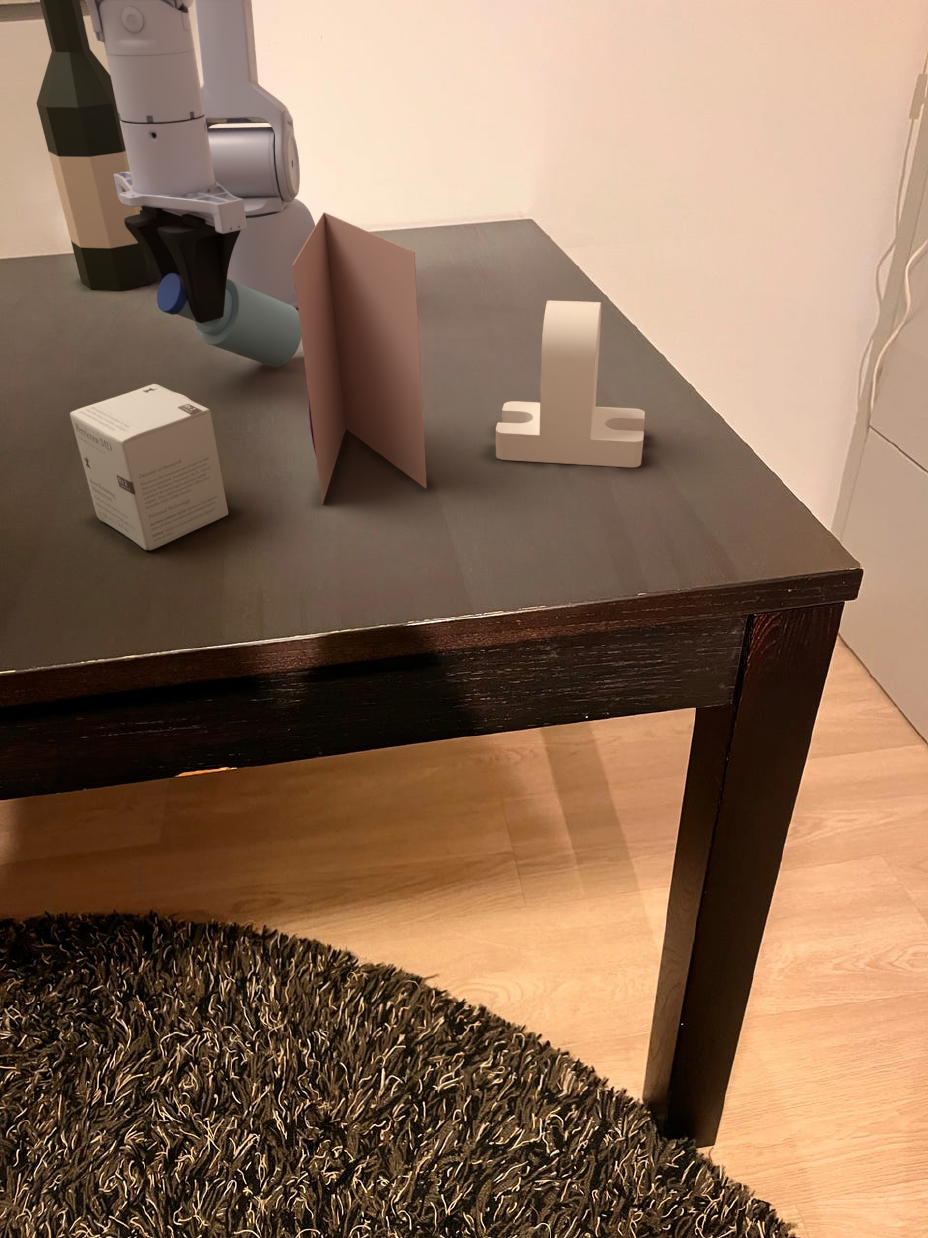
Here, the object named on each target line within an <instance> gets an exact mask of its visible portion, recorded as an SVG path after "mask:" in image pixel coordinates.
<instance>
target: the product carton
mask: <svg viewBox="0 0 928 1238" xmlns="http://www.w3.org/2000/svg"><path fill="white" fill-rule="evenodd" d="M69 418H70V420H71V424H72V428H73V431H74V435H75V439H76V443H77V446H78V450H79V455H80V458H81V462H82V466H83V470H84V473H85V477H86V481H87V484H88V489H89V493H90V497H91V500H92V504H93V508H94V511H95V515H96V517H97V518H98V520H99V521H101V522H102V523H105V524H107V526H110V527H111V528H113V529H114V530H116V531H118V532H120V534H122V535H123V536H125V537H127V538H128V539H130V540H131V541H132V542H133V543H135V544H136V545H138V546H139V547H141V548H142V549H143V550H145V551H153V550H155V549H158V548H160V547H162V546H164V545H167V544H169V543H171V542H173V541H175V540H177V539H179V538H181V537H183V536H186V535H188V534H190V533H193V532H194V531H197V530H199V529H201V528H202V527H205V526H207V525H209V524H212V523H214V522H216V521H218V520H220V519H222V518H225V517H227V516H229V508H228V503H227V497H226V492H225V487H224V486H225V485H224V481H223V476H222V475H223V474H222V471H221V464H220V458H219V457H220V456H219V452H218V446H217V439H216V435H215V434H216V433H215V430H214V424H213V418H212V412H211V410H210V409H209V408H208V407H205V406H203V405H201V404H199V403H197V402H195V401H193V400H191V399H190V398H189V397H187V396H186V395H183V394H182V393H179V392H175V391H173V390H170V389H168V388H167V387H164V386H162V385H160V384H157V383H152V384H149V385H146V386H144V387H141V388H138V389H135V390H132V391H129V392H127V393H123V394H120V395H117V396H114V397H111V398H107V399H104V400H101V401H98V402H96V403H92V404H89V405H86V406H83V407H80V408H76V409H75V410H72V411H71V412H70V413H69Z"/></svg>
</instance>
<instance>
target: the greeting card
mask: <svg viewBox="0 0 928 1238" xmlns="http://www.w3.org/2000/svg"><path fill="white" fill-rule="evenodd" d="M293 271H294V279H295V285H294V286H295V290H296V295H297V304H298V308H297V311H298V312H299V320H300V328H301V336H302V337H301V342H302V353H303V360H304V368H305V376H306V385H307V396H308V399H307V401H308V418H309V426H310V433H311V440H312V447H313V451H314V454H315V459H316V465H317V466H316V467H317V474H318V485H319V491H320V499H321V501H320V502H321V505H324V502H325V499H326V495H327V491H328V489H329V485H330V481H331V478H332V476H333V475H332V474H333V472H334V468H335V465H336V462H337V460H338V459H337V458H338V455H339V453H340V448H341V445H342V442H343V439H344V435H345V432H346V430H348V431H349V432H350V433H352V434H353V435H354V436H355V437H357V438H358V439H359V440H361V441H362V442H363V443H365V444H366V445H367V446H369V447H370V448H371V449H373V450H374V451H375V452H377V453H378V455H381V457H383V458H385V459H386V460H387V461H389V462H390V463H391V464H392V465H393V466H395V467H396V468H398V469H399V470H401V472H403V473H404V474H406V475H407V476H408V477H409V478H411V479H412V480H413V481H415V482H416V483H418V484H419V485H420V486H421V487H423V488H424V489H427V470H426V451H425V449H426V448H425V430H424V429H425V428H424V427H425V426H424V409H423V407H424V406H423V387H422V370H421V369H422V368H421V366H422V365H421V347H420V329H419V325H420V324H419V308H418V286H417V268H416V252H415V251H412V250H411V249H408V248H406V247H404V246H401V245H399V244H397V243H395V242H392V241H390V240H389V239H386V238H384V237H381V236H380V235H377V234H374V233H372V232H370V231H368V230H366V229H363V228H361V227H359V226H356V225H355V224H352V223H349V222H347V221H345V220H342V218H341V219H340V218H338V217H336V216H334V215H332V214H329V213H327V212H322V214H321V216H320V217H319V219H318V221H317V223H315V228H314V229H313V231H312V233H311V235H310V236H309V238H308V240H307V241H306V243H305V245H304V246H303V248H302V250H301V252H300V253H299V255H298V257H297V258H296V260H295V262H294V263H293Z"/></svg>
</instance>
